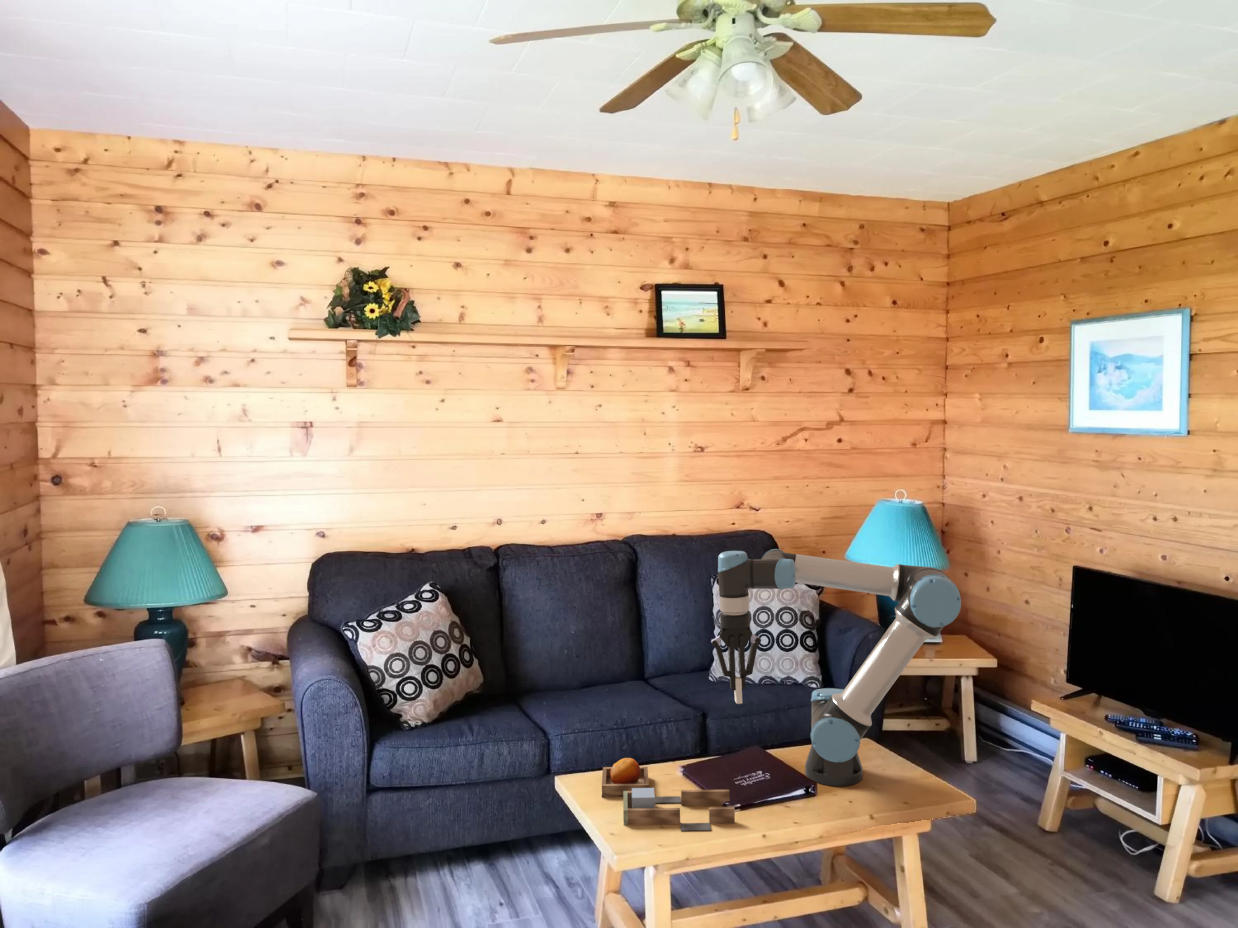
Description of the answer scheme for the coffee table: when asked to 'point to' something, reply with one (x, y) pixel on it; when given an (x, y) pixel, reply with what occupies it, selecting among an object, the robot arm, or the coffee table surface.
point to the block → (643, 798)
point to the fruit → (625, 772)
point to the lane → (673, 814)
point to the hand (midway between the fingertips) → (738, 701)
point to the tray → (617, 789)
